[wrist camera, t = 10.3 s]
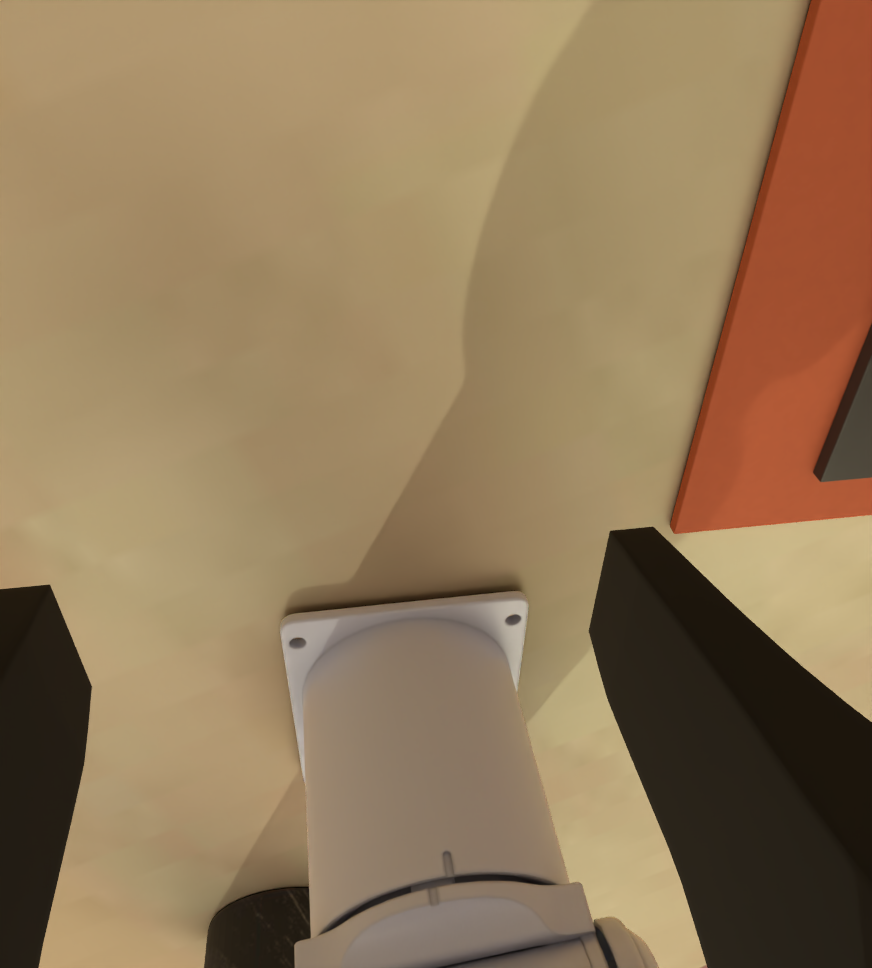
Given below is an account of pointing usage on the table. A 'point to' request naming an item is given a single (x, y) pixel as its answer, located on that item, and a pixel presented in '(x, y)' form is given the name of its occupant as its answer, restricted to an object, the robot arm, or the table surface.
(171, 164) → the table surface
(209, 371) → the table surface
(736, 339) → the mat
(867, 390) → the spatula
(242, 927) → the travel mug
